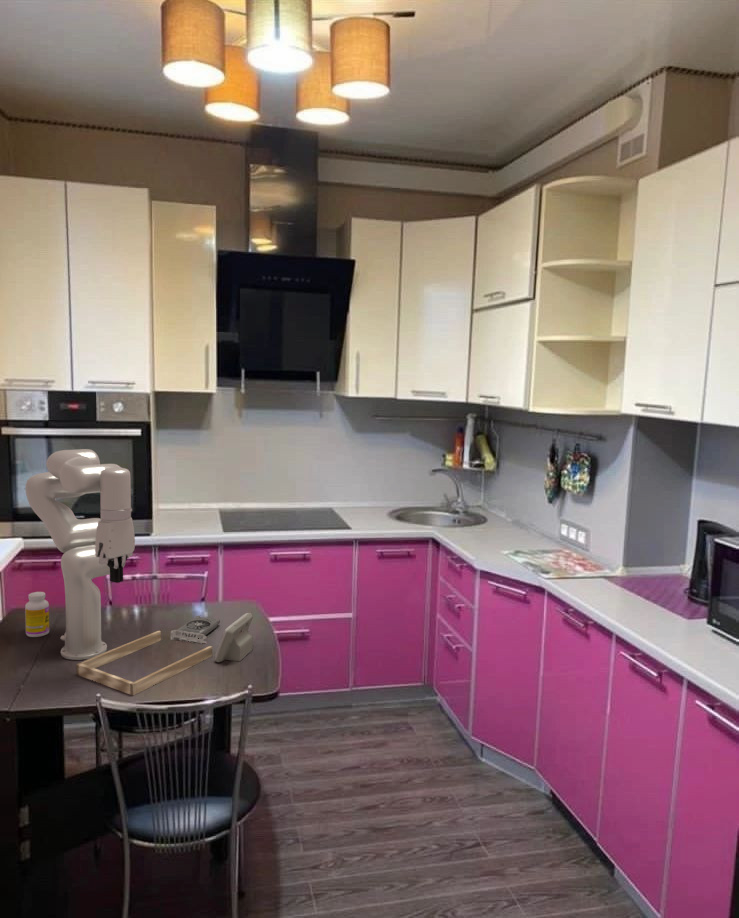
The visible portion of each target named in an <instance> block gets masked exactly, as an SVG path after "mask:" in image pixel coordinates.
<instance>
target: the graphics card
mask: <svg viewBox="0 0 739 918" xmlns="http://www.w3.org/2000/svg"><path fill="white" fill-rule="evenodd" d="M220 623H221V619H220V618H218V619H216V618H211V617H205V616H204V617H203V616H201V615H196V616H195V617H194V618H191V620H189V621H187V622H186V623H185V624H183V625H182V626H180V627H179V628H177V629H172V630H171V631H170V641H172V640H173V641H174V640H175V641H184V642H183V643H186V642H188V641H189V642H188V643H191V642H193V643H192V644H195V643H197V644H202V643H206V644H207V641H205V640H207V635H208V634H209V633H210V632H213V630H215V629H216V628H218V625H220ZM198 638H199V639H198Z"/></svg>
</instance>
